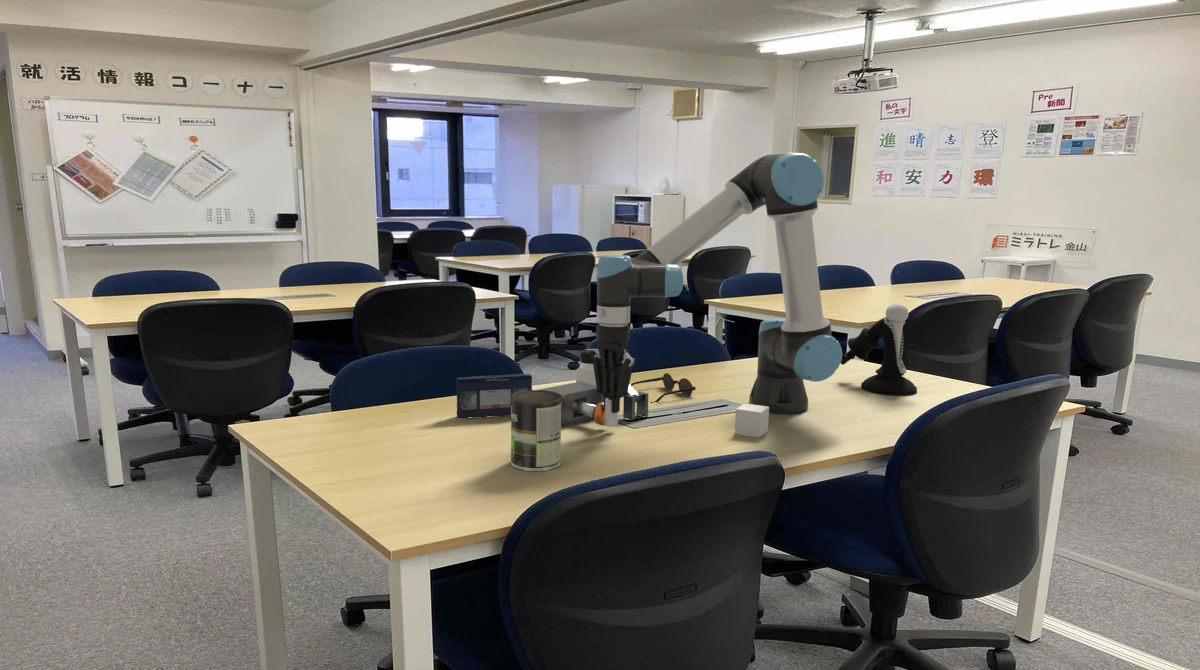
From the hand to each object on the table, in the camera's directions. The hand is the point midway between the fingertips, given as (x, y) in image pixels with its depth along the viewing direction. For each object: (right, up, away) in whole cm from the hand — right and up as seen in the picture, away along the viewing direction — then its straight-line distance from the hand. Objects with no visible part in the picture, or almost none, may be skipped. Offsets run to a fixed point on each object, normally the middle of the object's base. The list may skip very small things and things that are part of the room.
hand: (611, 425), depth 188 cm
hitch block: (-10, 0, +11) cm, 15 cm away
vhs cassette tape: (-29, +1, +13) cm, 31 cm away
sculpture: (+77, +6, +50) cm, 92 cm away
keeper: (+3, +8, +15) cm, 17 cm away
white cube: (+33, -2, +2) cm, 33 cm away
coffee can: (-16, -5, -22) cm, 28 cm away
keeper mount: (+3, +1, +16) cm, 17 cm away
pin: (-6, +1, +7) cm, 9 cm away
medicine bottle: (-5, +5, +37) cm, 38 cm away
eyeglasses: (+13, +4, +37) cm, 39 cm away
